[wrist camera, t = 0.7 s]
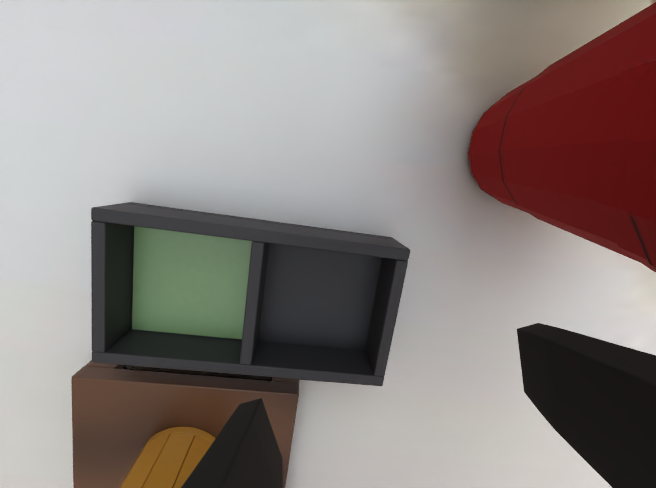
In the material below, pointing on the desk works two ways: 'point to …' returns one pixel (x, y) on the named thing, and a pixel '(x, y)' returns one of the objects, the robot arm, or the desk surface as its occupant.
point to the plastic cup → (582, 142)
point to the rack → (242, 295)
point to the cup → (168, 458)
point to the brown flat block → (160, 414)
